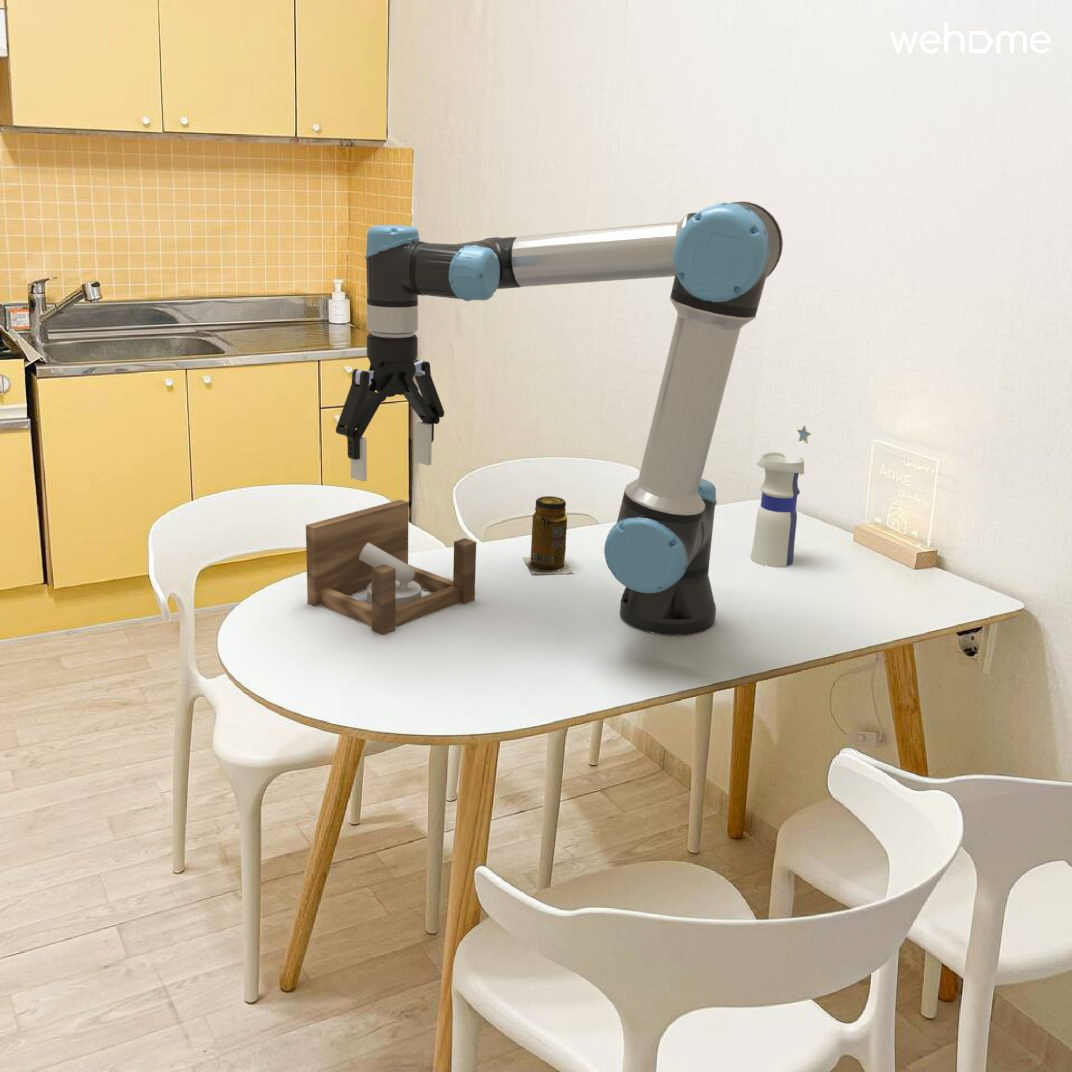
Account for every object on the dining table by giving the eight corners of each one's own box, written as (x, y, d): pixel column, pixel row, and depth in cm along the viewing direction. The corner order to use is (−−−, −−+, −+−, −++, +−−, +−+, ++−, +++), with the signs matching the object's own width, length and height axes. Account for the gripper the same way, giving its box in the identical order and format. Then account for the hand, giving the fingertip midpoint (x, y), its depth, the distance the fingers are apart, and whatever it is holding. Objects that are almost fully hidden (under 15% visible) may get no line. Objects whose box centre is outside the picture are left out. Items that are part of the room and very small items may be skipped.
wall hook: (369, 533, 187) (428, 540, 185) (369, 588, 190) (427, 596, 188) (350, 550, 179) (411, 558, 177) (350, 608, 182) (411, 615, 180)
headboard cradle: (474, 600, 187) (476, 524, 183) (383, 635, 173) (383, 553, 168) (399, 572, 198) (400, 499, 193) (307, 602, 183) (305, 525, 179)
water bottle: (759, 548, 218) (774, 418, 210) (801, 558, 213) (818, 426, 205) (739, 559, 211) (754, 426, 203) (783, 570, 207) (799, 434, 199)
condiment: (562, 557, 208) (565, 493, 205) (573, 574, 201) (577, 508, 197) (522, 558, 207) (525, 494, 203) (532, 575, 199) (535, 509, 195)
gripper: (433, 322, 183) (432, 452, 190) (309, 337, 164) (312, 481, 171) (468, 328, 178) (465, 461, 185) (344, 345, 160) (346, 492, 167)
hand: (392, 471), depth 178 cm, fingers open, 13 cm apart
